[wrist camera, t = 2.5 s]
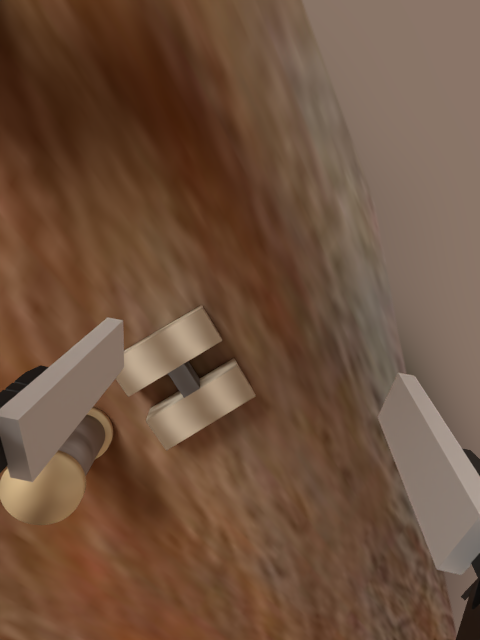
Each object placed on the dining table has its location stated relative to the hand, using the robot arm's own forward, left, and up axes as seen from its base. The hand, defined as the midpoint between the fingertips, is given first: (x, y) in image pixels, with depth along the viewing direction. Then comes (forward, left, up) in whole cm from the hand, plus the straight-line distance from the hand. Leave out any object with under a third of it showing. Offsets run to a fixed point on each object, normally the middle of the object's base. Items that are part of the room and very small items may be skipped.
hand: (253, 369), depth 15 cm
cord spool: (-18, -19, -29) cm, 39 cm away
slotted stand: (-4, -10, -29) cm, 31 cm away
